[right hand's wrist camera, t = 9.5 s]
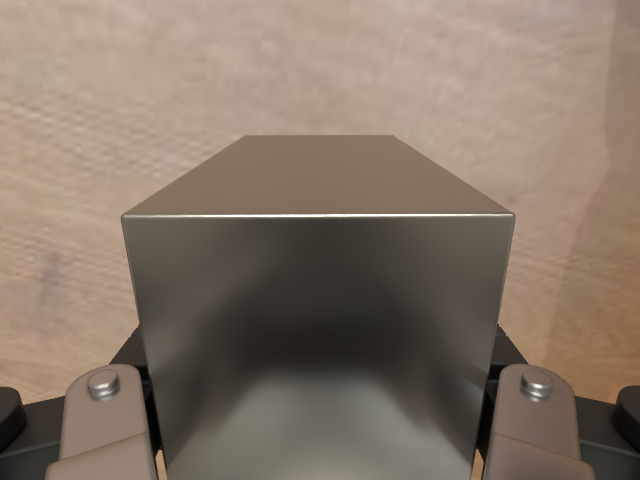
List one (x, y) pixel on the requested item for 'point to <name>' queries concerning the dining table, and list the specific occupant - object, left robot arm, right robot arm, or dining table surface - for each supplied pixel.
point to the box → (318, 311)
